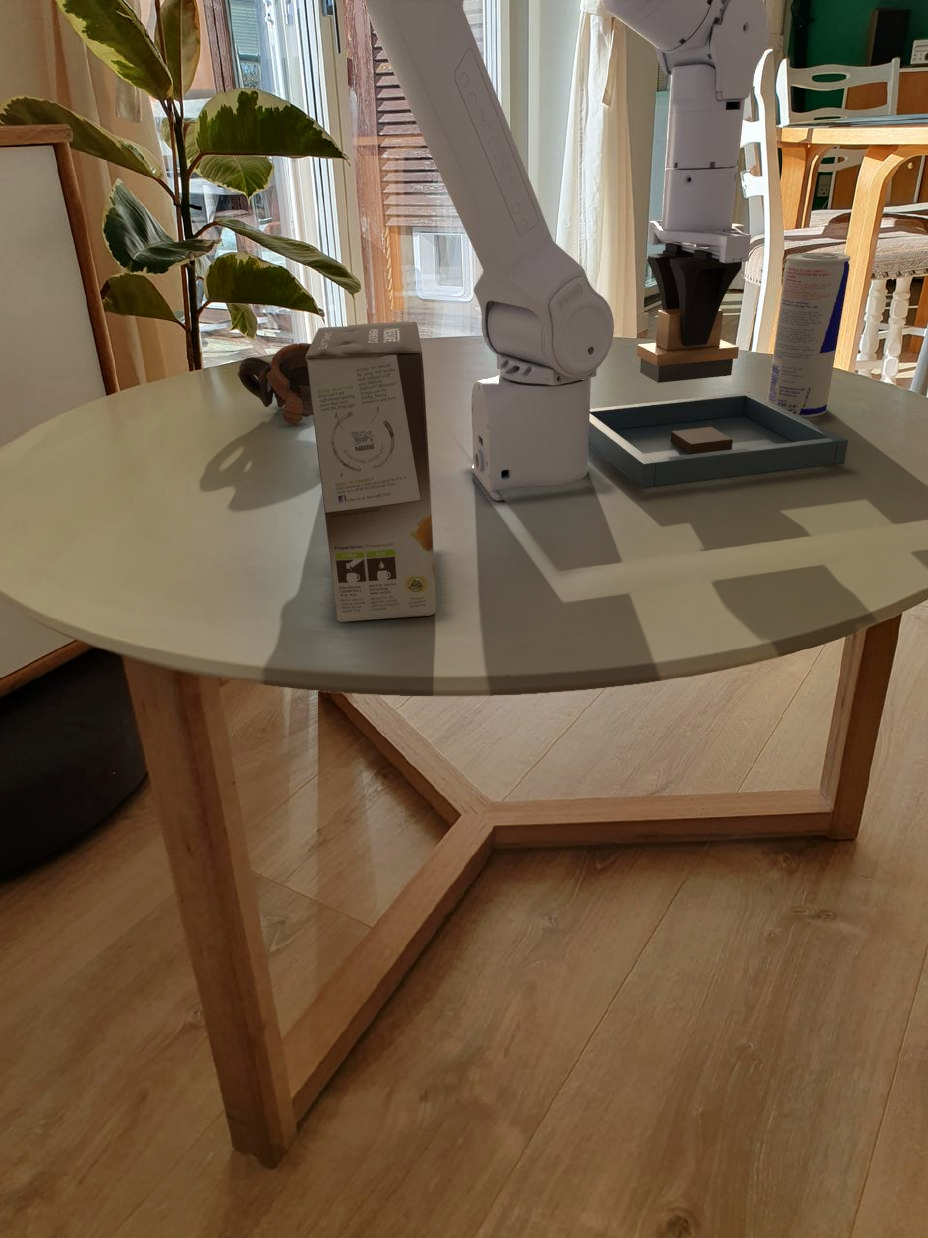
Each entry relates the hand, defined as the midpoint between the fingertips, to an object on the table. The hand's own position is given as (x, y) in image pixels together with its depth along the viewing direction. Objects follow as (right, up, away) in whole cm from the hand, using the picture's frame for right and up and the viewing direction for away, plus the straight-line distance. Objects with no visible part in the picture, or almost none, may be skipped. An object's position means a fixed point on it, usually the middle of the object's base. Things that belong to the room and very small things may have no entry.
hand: (686, 341), depth 77 cm
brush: (0, -3, +1) cm, 3 cm away
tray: (+1, -10, +1) cm, 10 cm away
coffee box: (-25, -23, -19) cm, 39 cm away
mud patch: (+1, -9, +1) cm, 9 cm away
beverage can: (+13, -4, +10) cm, 17 cm away
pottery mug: (-38, -2, +18) cm, 42 cm away
